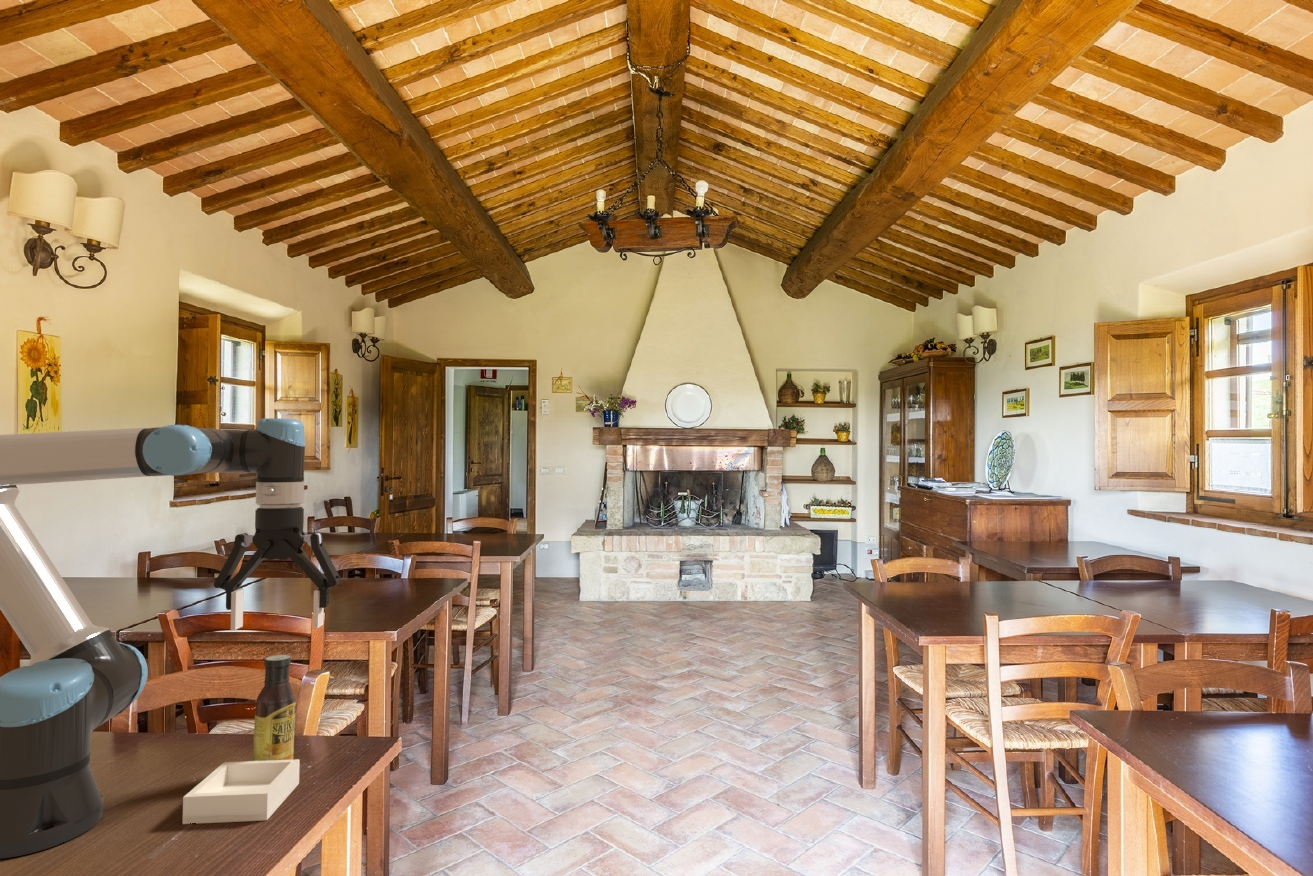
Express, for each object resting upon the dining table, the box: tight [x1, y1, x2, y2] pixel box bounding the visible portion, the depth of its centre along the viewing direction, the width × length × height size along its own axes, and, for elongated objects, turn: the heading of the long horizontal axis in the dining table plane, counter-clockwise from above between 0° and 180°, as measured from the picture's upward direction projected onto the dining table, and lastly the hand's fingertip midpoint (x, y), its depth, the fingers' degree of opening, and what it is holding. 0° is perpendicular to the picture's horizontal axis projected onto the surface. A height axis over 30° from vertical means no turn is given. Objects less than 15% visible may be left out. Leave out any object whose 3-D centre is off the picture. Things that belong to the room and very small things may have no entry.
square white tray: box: [182, 758, 301, 825], centre depth 110 cm, size 12×12×4 cm
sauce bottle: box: [252, 654, 297, 761], centre depth 121 cm, size 7×6×20 cm
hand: (277, 627), depth 121 cm, fingers open, 13 cm apart
